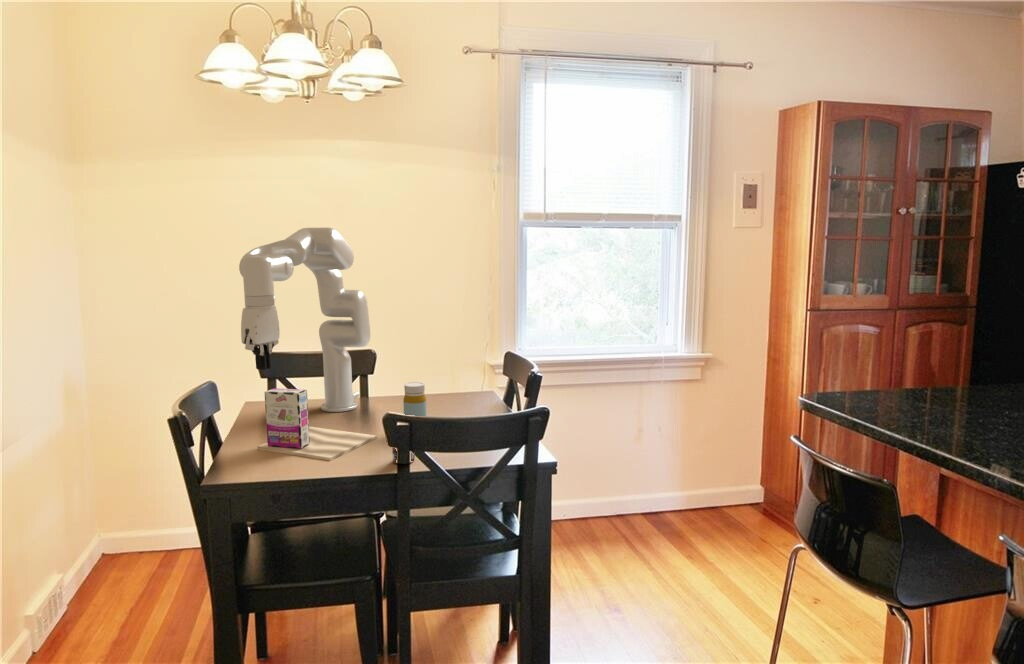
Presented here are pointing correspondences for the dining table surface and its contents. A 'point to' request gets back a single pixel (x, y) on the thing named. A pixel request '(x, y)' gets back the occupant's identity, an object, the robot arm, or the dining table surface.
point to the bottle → (414, 399)
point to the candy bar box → (287, 418)
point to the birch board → (325, 444)
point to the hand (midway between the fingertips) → (263, 368)
